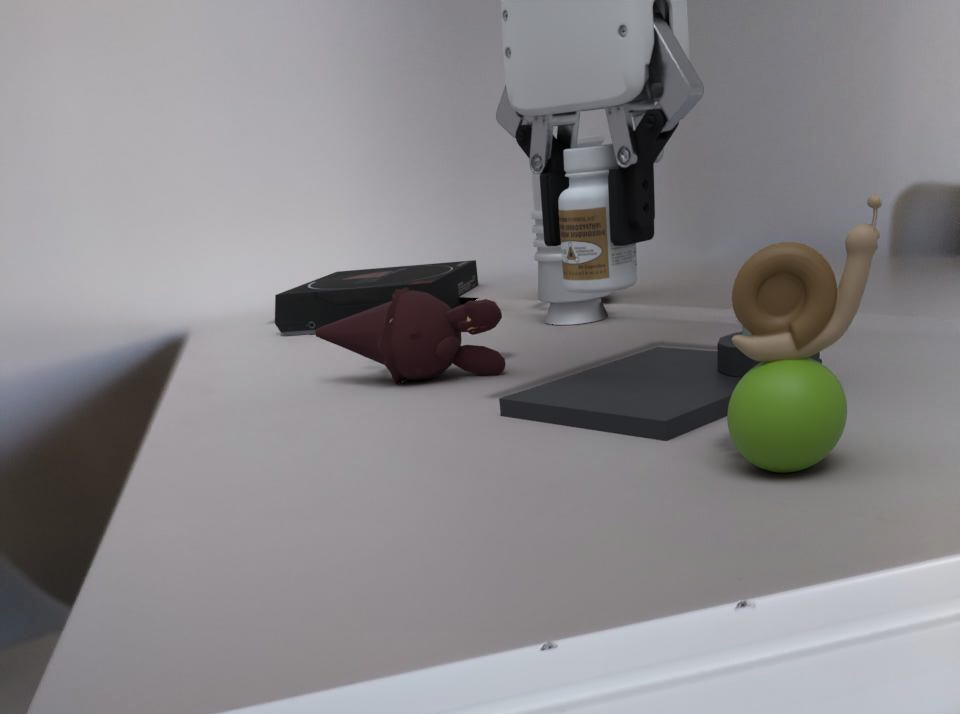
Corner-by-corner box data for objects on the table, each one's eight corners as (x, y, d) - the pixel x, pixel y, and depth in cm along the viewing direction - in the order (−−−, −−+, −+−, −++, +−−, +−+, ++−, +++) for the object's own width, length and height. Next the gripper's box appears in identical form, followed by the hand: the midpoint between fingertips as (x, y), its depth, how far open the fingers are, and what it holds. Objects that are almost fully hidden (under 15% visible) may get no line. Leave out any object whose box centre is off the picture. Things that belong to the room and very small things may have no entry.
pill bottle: (548, 293, 62) (538, 152, 59) (598, 281, 65) (591, 145, 61) (602, 295, 59) (595, 146, 56) (652, 282, 62) (648, 139, 58)
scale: (658, 363, 75) (657, 320, 73) (837, 379, 65) (839, 330, 64) (500, 417, 65) (495, 369, 64) (682, 444, 56) (681, 389, 54)
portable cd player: (337, 308, 119) (331, 272, 117) (479, 298, 114) (475, 260, 113) (277, 336, 105) (269, 295, 103) (436, 325, 100) (431, 282, 98)
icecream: (285, 309, 74) (485, 316, 70) (325, 267, 79) (514, 272, 75) (305, 396, 78) (494, 408, 74) (342, 352, 84) (520, 360, 79)
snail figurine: (874, 484, 47) (893, 198, 42) (729, 490, 48) (730, 214, 43) (857, 449, 52) (872, 189, 46) (725, 456, 53) (725, 204, 48)
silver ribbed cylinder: (594, 325, 91) (583, 137, 85) (525, 326, 95) (510, 146, 88) (626, 311, 96) (619, 133, 90) (560, 312, 100) (549, 140, 93)
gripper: (764, -176, 49) (758, 232, 57) (515, -94, 61) (539, 236, 69) (668, -192, 45) (676, 252, 53) (418, -101, 56) (456, 252, 64)
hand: (598, 239), depth 61 cm, fingers closed on pill bottle, 4 cm apart
